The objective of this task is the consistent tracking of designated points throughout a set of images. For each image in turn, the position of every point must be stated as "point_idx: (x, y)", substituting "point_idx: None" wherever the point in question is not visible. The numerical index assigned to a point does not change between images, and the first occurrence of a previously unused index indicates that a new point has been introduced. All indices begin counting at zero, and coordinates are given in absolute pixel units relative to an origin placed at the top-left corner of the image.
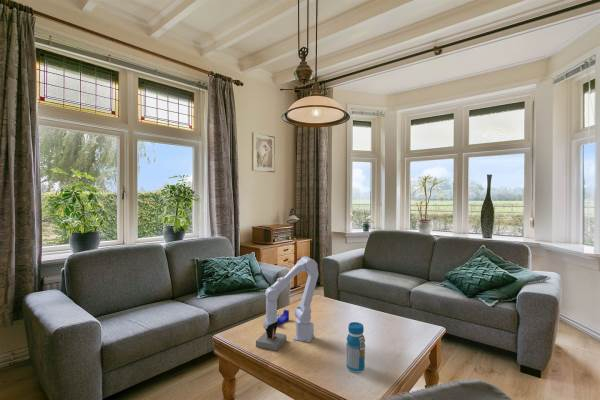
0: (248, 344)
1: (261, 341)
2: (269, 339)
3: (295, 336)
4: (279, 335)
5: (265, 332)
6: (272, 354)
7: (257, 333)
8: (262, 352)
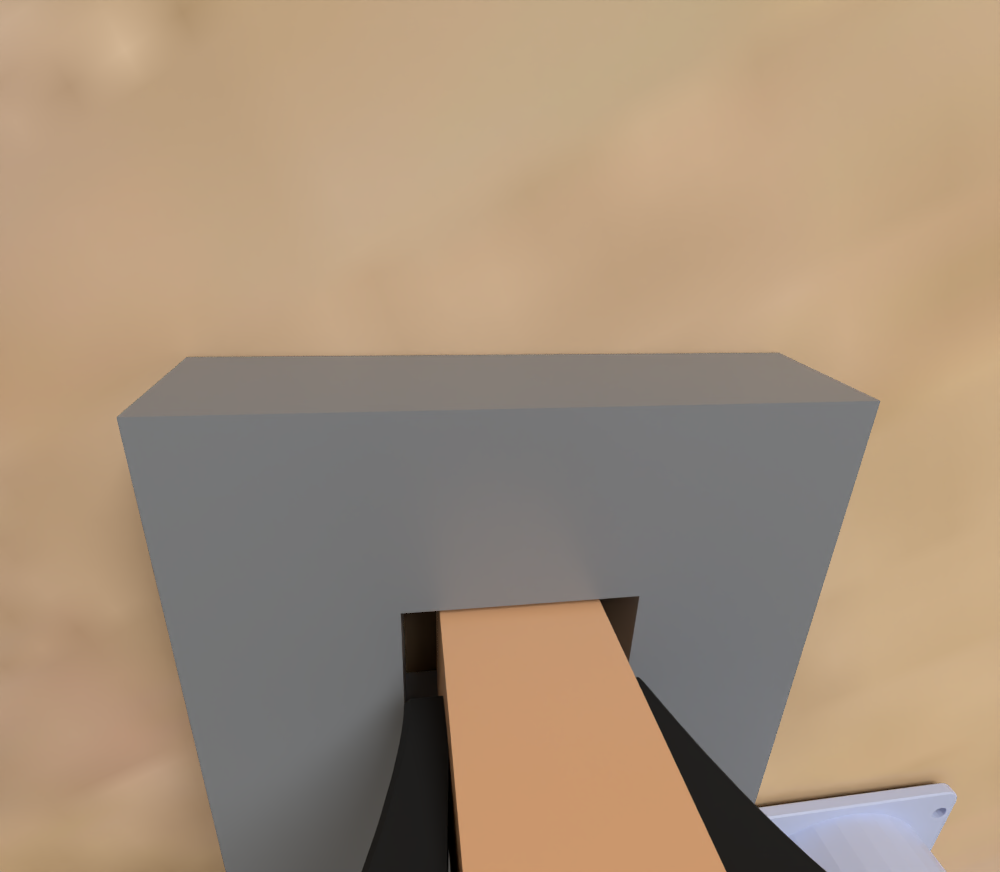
0: (178, 61)
1: (193, 588)
2: (440, 673)
3: (814, 819)
4: None
5: (786, 416)
6: (112, 790)
7: (926, 3)
8: (48, 619)
